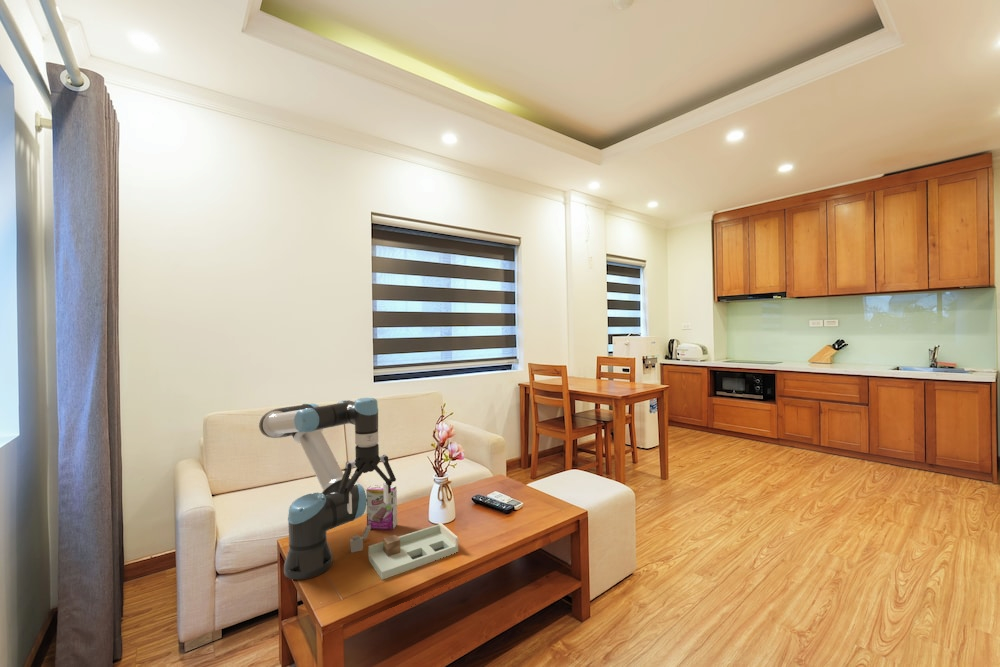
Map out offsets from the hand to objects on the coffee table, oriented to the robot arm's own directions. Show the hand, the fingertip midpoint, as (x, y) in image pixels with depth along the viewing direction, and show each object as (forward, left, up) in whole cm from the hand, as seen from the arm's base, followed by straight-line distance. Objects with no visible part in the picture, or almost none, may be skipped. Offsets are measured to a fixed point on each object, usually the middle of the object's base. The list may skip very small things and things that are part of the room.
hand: (368, 507), depth 143 cm
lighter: (+1, +13, -20) cm, 24 cm away
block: (+8, 0, -18) cm, 19 cm away
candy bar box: (+13, +25, -20) cm, 35 cm away
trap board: (+15, -3, -20) cm, 25 cm away
